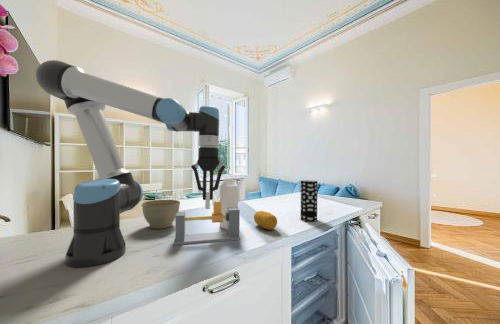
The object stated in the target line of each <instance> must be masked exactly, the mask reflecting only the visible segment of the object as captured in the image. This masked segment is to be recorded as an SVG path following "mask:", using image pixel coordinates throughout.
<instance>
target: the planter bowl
mask: <svg viewBox="0 0 500 324" xmlns="http://www.w3.org/2000/svg"><path fill="white" fill-rule="evenodd" d="M141 206H142V214H143V217H144V219H145V221H146V222H147V223H148V225H149V228H151V229H166V228H170V227H171V226H173V222H174V221H176V214H177V212H180V206H181V201H180V200H175V199H155V200H153V199H152V200H148V201H144V202H142V203H141Z"/></svg>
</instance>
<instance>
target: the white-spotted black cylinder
mask: <svg viewBox="0 0 500 324" xmlns="http://www.w3.org/2000/svg"><path fill="white" fill-rule="evenodd" d="M300 220H301V221H303V222H305V223H316V222H317V221H318V181H317V180H301V181H300Z"/></svg>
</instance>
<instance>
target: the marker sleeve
mask: <svg viewBox="0 0 500 324" xmlns="http://www.w3.org/2000/svg"><path fill="white" fill-rule="evenodd" d="M221 203H222V202H221V201H220V200H219V201H218V200H217V201H213V211H212V212H211V216H212V219H211V221H212V223H220V222H223V213H222V212H221Z"/></svg>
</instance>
